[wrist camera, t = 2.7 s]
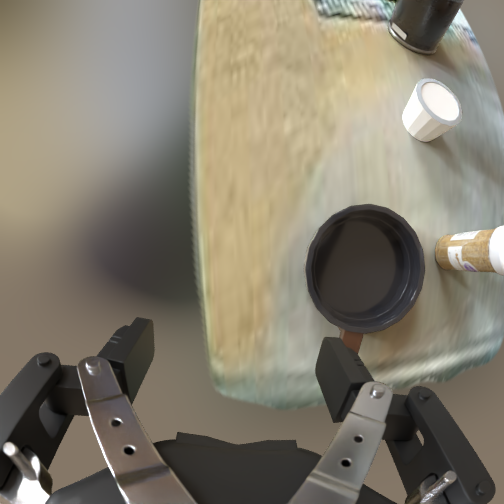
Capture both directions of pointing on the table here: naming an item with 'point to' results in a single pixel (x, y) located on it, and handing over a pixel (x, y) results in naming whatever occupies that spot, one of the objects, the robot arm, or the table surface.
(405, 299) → the pan
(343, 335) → the pan handle
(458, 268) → the sprinkles bottle
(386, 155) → the table surface
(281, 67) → the table surface
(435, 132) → the white cup
